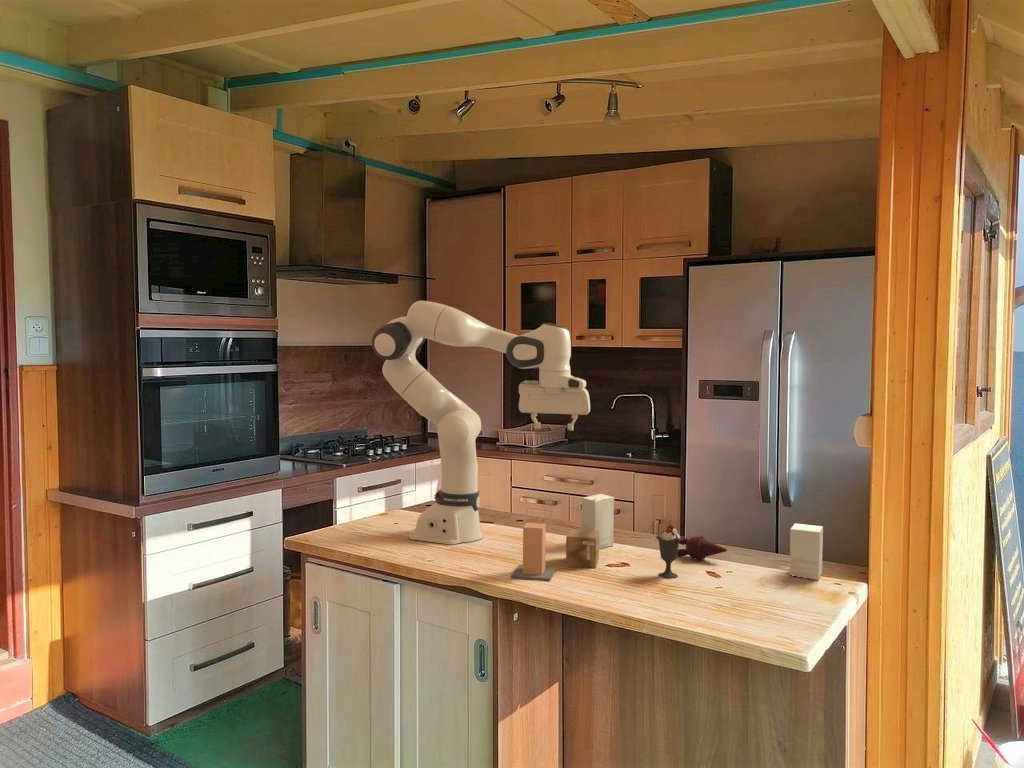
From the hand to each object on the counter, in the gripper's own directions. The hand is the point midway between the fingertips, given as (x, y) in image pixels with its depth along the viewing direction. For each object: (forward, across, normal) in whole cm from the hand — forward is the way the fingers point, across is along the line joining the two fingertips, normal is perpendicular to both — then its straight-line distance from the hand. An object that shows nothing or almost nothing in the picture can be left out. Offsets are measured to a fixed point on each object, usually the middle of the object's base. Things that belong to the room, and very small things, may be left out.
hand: (553, 429), depth 224 cm
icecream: (+35, +41, +2) cm, 54 cm away
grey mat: (+35, -1, -23) cm, 42 cm away
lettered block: (+35, +10, -10) cm, 38 cm away
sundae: (+35, +33, -16) cm, 51 cm away
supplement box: (+35, +68, -6) cm, 77 cm away
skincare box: (+35, +12, +8) cm, 38 cm away
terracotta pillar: (+34, -1, -23) cm, 41 cm away
